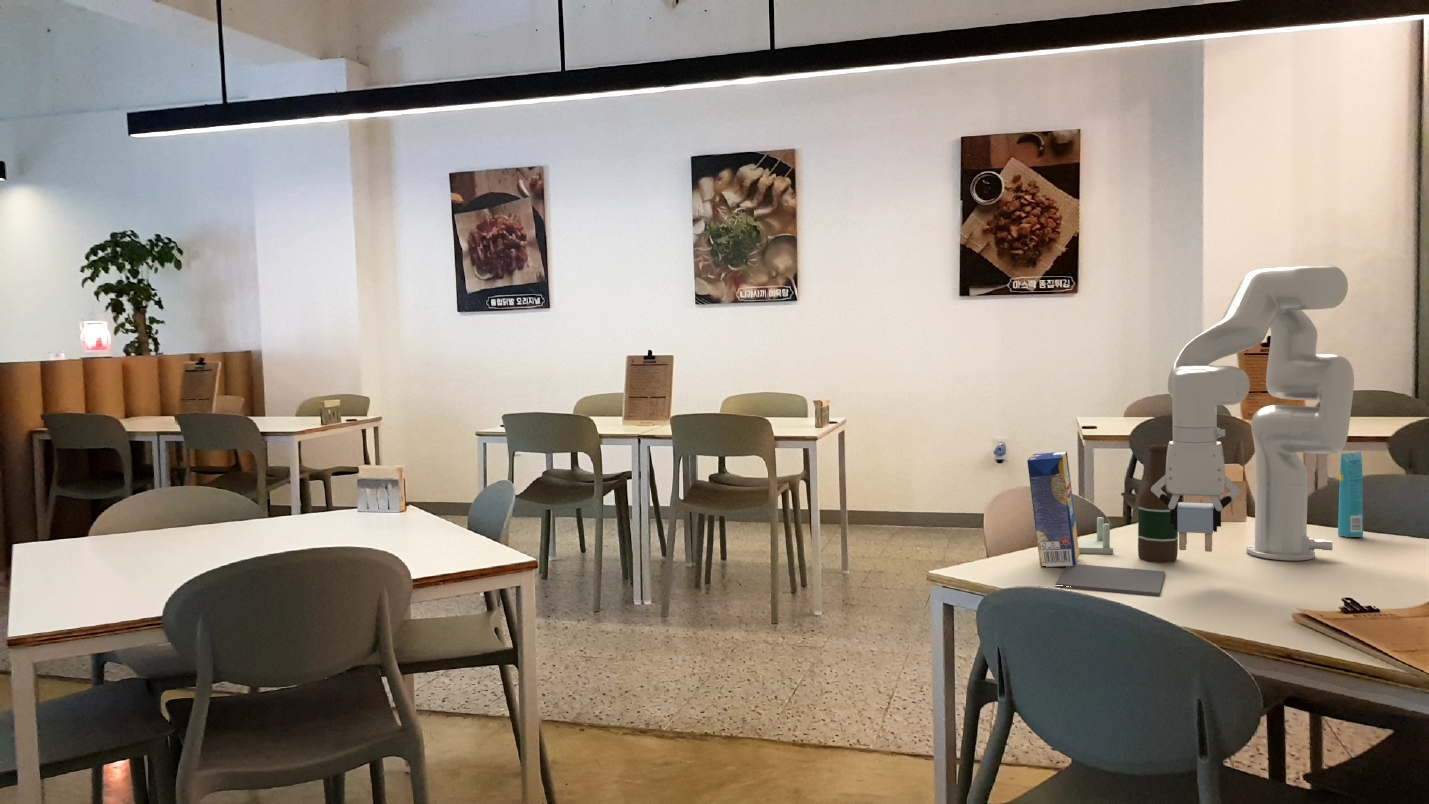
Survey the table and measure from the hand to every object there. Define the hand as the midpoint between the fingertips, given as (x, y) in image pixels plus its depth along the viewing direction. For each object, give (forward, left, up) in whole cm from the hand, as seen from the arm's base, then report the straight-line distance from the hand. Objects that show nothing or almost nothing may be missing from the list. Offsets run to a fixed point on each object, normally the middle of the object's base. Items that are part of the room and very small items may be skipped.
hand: (1195, 528), depth 192 cm
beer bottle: (+7, -18, -10) cm, 22 cm away
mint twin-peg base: (+22, -23, -10) cm, 34 cm away
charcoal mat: (+14, +5, -10) cm, 18 cm away
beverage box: (+25, -7, -10) cm, 28 cm away
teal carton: (-31, -58, -10) cm, 66 cm away
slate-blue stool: (0, 0, -4) cm, 4 cm away
